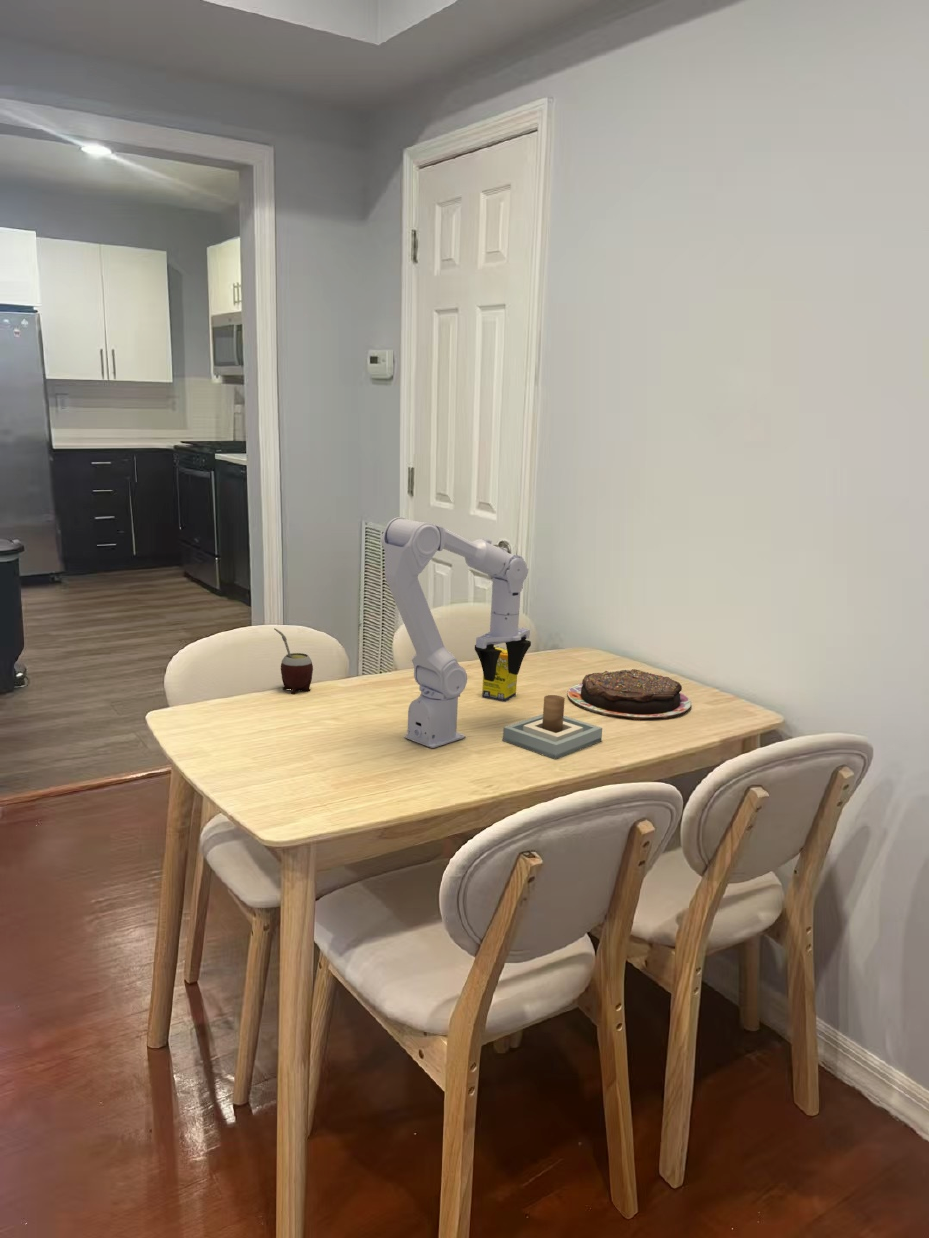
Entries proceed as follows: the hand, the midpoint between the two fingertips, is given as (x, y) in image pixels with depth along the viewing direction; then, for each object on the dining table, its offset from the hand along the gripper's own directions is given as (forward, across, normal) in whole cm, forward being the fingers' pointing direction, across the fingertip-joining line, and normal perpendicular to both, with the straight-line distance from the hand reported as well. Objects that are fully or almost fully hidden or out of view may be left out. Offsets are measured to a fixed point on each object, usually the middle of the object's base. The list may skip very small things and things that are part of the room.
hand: (501, 676), depth 186 cm
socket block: (+10, 0, -14) cm, 17 cm away
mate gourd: (+10, -19, +44) cm, 49 cm away
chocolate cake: (+10, +35, -9) cm, 38 cm away
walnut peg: (+9, 0, -14) cm, 17 cm away
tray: (+10, 0, -14) cm, 17 cm away
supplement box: (+10, +14, +12) cm, 21 cm away
